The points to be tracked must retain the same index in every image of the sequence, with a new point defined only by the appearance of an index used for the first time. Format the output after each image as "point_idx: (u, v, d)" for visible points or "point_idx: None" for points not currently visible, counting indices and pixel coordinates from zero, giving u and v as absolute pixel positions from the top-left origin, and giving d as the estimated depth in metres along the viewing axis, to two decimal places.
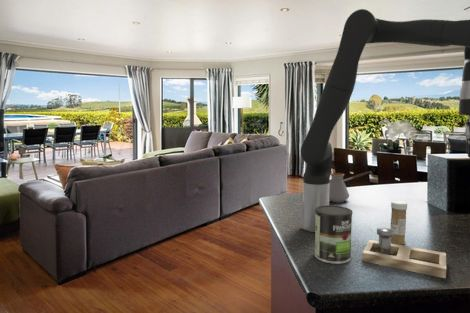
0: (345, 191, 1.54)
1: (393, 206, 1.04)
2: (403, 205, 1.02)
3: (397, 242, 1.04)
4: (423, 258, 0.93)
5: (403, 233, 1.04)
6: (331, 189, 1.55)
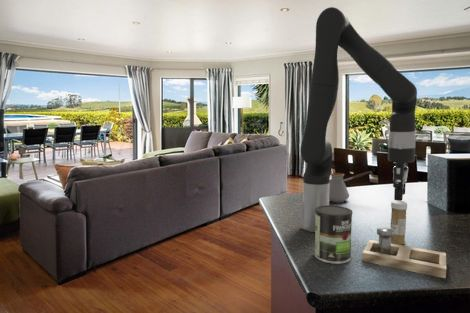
0: (345, 191, 1.54)
1: (393, 206, 1.04)
2: (403, 205, 1.02)
3: (397, 242, 1.04)
4: (423, 258, 0.93)
5: (403, 233, 1.04)
6: (331, 189, 1.55)
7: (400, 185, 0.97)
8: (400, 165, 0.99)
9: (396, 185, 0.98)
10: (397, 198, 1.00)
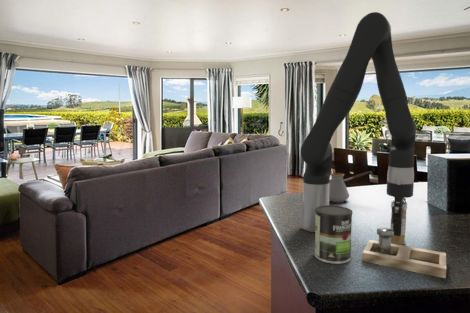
0: (345, 191, 1.54)
1: None
2: None
3: (397, 242, 1.04)
4: (423, 258, 0.93)
5: (403, 233, 1.04)
6: (331, 189, 1.55)
7: (399, 222, 1.00)
8: (398, 200, 1.01)
9: (395, 222, 1.01)
10: (396, 233, 1.03)
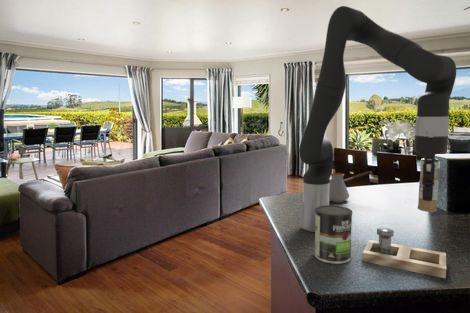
0: (345, 191, 1.54)
1: None
2: None
3: (428, 209, 0.86)
4: (423, 258, 0.93)
5: (435, 198, 0.86)
6: (331, 189, 1.55)
7: (431, 183, 0.82)
8: (430, 157, 0.83)
9: (426, 183, 0.83)
10: (426, 198, 0.85)
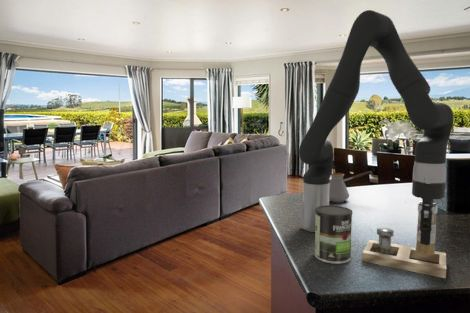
0: (345, 191, 1.54)
1: None
2: None
3: (425, 252, 0.87)
4: (423, 258, 0.93)
5: (433, 241, 0.87)
6: (331, 189, 1.55)
7: (428, 228, 0.84)
8: (428, 202, 0.84)
9: (423, 228, 0.84)
10: (424, 242, 0.86)
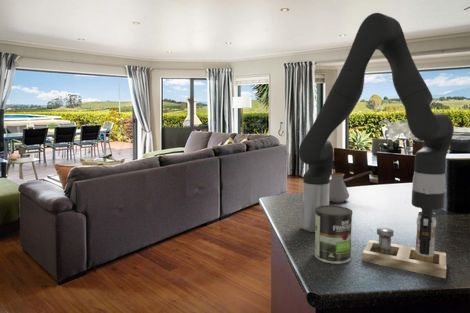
0: (345, 191, 1.54)
1: None
2: None
3: None
4: None
5: (431, 255, 0.88)
6: (331, 189, 1.55)
7: (428, 238, 0.83)
8: (427, 213, 0.85)
9: (423, 238, 0.84)
10: (423, 252, 0.86)
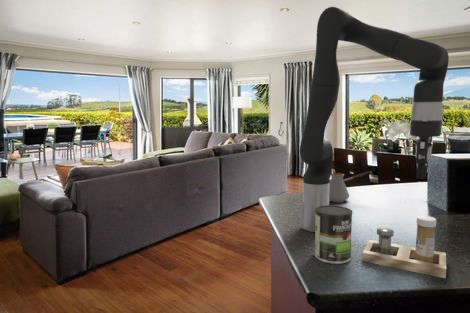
0: (345, 191, 1.54)
1: (420, 223, 0.88)
2: (432, 222, 0.86)
3: None
4: None
5: (431, 255, 0.88)
6: (331, 189, 1.55)
7: (424, 161, 0.87)
8: (424, 139, 0.89)
9: (419, 161, 0.87)
10: (419, 176, 0.89)
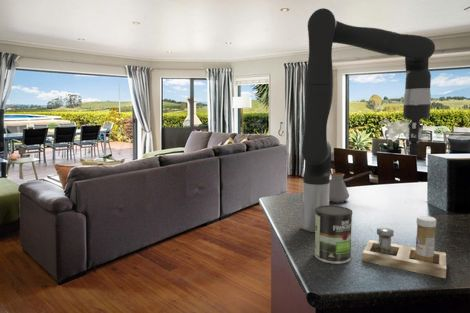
0: (345, 191, 1.54)
1: (419, 223, 0.88)
2: (432, 222, 0.86)
3: None
4: None
5: (431, 255, 0.88)
6: (331, 189, 1.55)
7: (416, 139, 1.01)
8: (415, 121, 1.03)
9: (412, 139, 1.01)
10: (412, 153, 1.03)
